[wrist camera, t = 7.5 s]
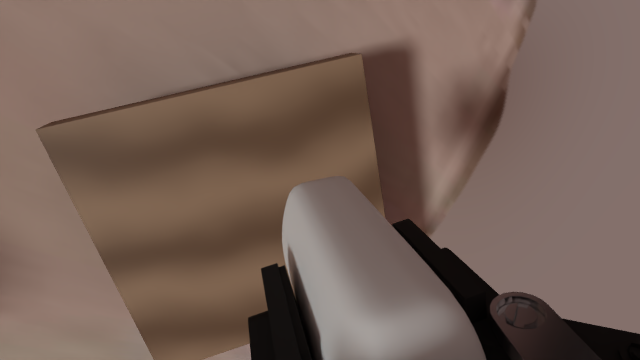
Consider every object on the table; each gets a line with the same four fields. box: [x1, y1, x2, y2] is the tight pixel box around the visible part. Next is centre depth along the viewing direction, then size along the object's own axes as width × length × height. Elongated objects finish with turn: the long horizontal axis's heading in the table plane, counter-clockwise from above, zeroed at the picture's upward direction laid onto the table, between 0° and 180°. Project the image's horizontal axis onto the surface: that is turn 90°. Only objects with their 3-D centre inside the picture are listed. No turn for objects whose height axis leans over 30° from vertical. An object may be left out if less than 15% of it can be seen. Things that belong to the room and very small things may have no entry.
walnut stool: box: [36, 53, 385, 360], centre depth 27 cm, size 18×18×7 cm
